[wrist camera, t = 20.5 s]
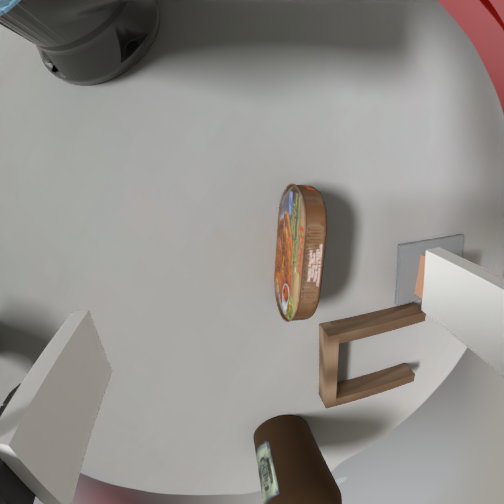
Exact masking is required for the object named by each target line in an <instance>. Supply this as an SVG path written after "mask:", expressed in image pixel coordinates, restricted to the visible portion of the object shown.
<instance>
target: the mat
mask: <svg viewBox="0 0 504 504" xmlns="http://www.w3.org/2000/svg"><path fill="white" fill-rule="evenodd" d="M463 243H464V235H463V234H460V235H454V236H448V237H442V238H436V239H429V240H423V241H417V242H411V243H405V244H399V245H398V259H397V280H396V295H395V304H396V305H401V304H405V303H409V302H413V301H416V300H420V299H421V298H420V297H418V296H417V295H416V294H414V293H415V288H416V282H417V276H418V270H419V264H420V257H421V254H426V250H428V249H432V248H437V247H440V248H442V249H445V250H447V251H449V252H451V253H453V254H456V255H458V256H460V257H462V255H463Z"/></svg>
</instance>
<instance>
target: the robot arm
mask: <svg viewBox="0 0 504 504" xmlns="http://www.w3.org/2000/svg"><path fill="white" fill-rule="evenodd" d="M159 21H160V15H159V9H158V5H157V2H156V0H0V24H1V25H3V26H5V27H7V28H8V29H10V30H12V31H13V32H15V33H17V34H19V35H20V36H22V37H24V38H25V39H27V40H29V41H30V42H32V43H34V44H36V45H37V48H38V50H39V53H40V55H41V58H42V60H43V63H44V64H45V66H46V67H47V69H48V70H49V71H50V72H51V73H52V74H54V75H55V76H56V77H58V78H60V79H62V80H64V81H66V82H68V83H71V84H75V85H94V84H99V83H103V82H106V81H108V80H111V79H113V78H115V77H117V76H119V75H121V74H123V73H124V72H126V71H127V70H128V69H130V68H131V67H132V66H134V65H135V64H136V63H137V62H138V61H139V60H140V59H141V58H142V57H143V56H144V55H145V53H146V52H147V51H148V49H149V48H150V46H151V45H152V43H153V41H154V39H155V37H156V34H157V31H158V28H159ZM421 310H422V311H423V312H424V313H426V314H427V315H428V316H430V317H431V318H432V319H433V320H435V321H436V322H437V323H439V324H440V325H441V326H442V327H444V328H445V329H446V330H447V331H449V332H450V333H451V334H452V335H454V336H455V337H456V338H457V339H459V340H460V341H461V342H462V343H464V344H465V345H466V346H467V347H469V348H470V349H471V350H472V351H473V352H475V353H476V354H477V355H478V356H479V357H481V358H482V359H483V360H484V361H486V362H487V363H488V364H489V365H490V366H491V367H493V368H494V369H495V370H496V371H497V372H498V373H500V374H501V375H502V376H503V377H504V278H503V277H501V276H499V275H497V274H495V273H493V272H491V271H489V270H487V269H485V268H483V267H481V266H479V265H477V264H475V263H473V262H470V261H468V260H466V259H464V258H462V257H460V256H458V255H456V254H453V253H451V252H449V251H447V250H445V249H442V248H440V247H437V248H432V249H428V250H426V254H425V273H424V286H423V297H422V307H421ZM111 374H112V369H111V366H110V364H109V362H108V359H107V357H106V354H105V352H104V349H103V347H102V344H101V342H100V339H99V336H98V334H97V331H96V328H95V326H94V323H93V320H92V317H91V314H90V311H89V310H84V311H77V312H72V313H71V314H70V315H69V316H68V318H67V319H66V320H65V322H64V323H63V324H62V326H61V327H60V328H59V330H58V331H57V332H56V334H55V335H54V337H53V338H52V339H51V341H50V342H49V343H48V345H47V346H46V348H45V349H44V350H43V352H42V353H41V355H40V356H39V358H38V359H37V361H36V362H35V363H34V365H33V366H32V368H31V369H30V371H29V372H28V374H27V375H26V377H25V378H24V380H23V381H22V383H20V384H19V385H18V386H17V387H16V388H15V389H13V390H12V391H11V392H10V393H9V395H8V396H7V398H6V399H5V401H4V403H3V406H1V407H0V504H33V502H34V499H35V496H36V497H37V498H38V499H39V500H40V501H41V502H42V503H44V504H72V501H73V496H74V493H75V489H76V485H77V481H78V477H79V474H80V470H81V466H82V463H83V459H84V456H85V453H86V449H87V446H88V442H89V439H90V436H91V433H92V430H93V426H94V423H95V420H96V417H97V414H98V411H99V408H100V405H101V402H102V399H103V396H104V393H105V390H106V388H107V385H108V382H109V379H110V376H111Z"/></svg>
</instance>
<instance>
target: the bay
mask: <svg viewBox="0 0 504 504" xmlns="http://www.w3.org/2000/svg"><path fill="white" fill-rule="evenodd" d="M425 315H426V313H424V312H423V311H422V310H421V308H420V307H419V306H418V305H416V304H415V303H414V302H412V303H408V304H404V305H400V306H397V307H393V308H389V309H384V310H380V311H376V312H372V313H368V314H363V315H359V316H354V317H350V318H345V319H341V320H336V321H331V322H327V323H322V324H319V336H320V363H319V395H320V397H321V399H322V401H323V403H324V405H325V407H326V408H329V407H333V406H337V405H341V404H344V403H348V402H351V401H355V400H358V399H362V398H365V397H368V396H371V395H375V394H378V393H381V392H384V391H387V390H390V389H393V388H396V387H399V386H401V385H404V384H407V383H410V382H412V381H414V376H415V374H414V372H413V371H412V370H411V369H410V368H409V367H408V366H407V365H406V364H405V363H403V364H400V365H397V366H394V367H391V368H388V369H384V370H381V371H378V372H375V373H371V374H368V375H364V376H361V377H357V378H354V379H350V380H346V381H343V382H339V383H337V374H338V352H339V344H340V343H344V342H349V341H353V340H357V339H361V338H365V337H369V336H373V335H376V334H380V333H384V332H388V331H391V330H395V329H398V328H402V327H405V326H409V325H412V324H415V323H419V322H422V321H425Z"/></svg>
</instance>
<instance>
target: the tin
mask: <svg viewBox="0 0 504 504" xmlns="http://www.w3.org/2000/svg"><path fill="white" fill-rule="evenodd" d="M326 233H327V215H326V208H325V204H324V200H323V198H322V196H321V194H320V192H319V191H318V190H317V189H315V188H314V187H312V186H304V185H295V184H289V185H288V186H287V187H286V189H285V190H284V192H283V195H282V198H281V202H280V207H279V215H278V232H277V247H276V261H275V277H274V282H275V295H276V301H277V306H278V309H279V312H280V314H281V317H282V318H283V319H284V320H285V321H287V322H290V321H293V320H304V319H308V318H310V317H311V316H312V315H313V314H314V313H315V311H316V309H317V306H318V302H319V297H320V290H321V282H322V273H323V264H324V254H325V244H326Z"/></svg>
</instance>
